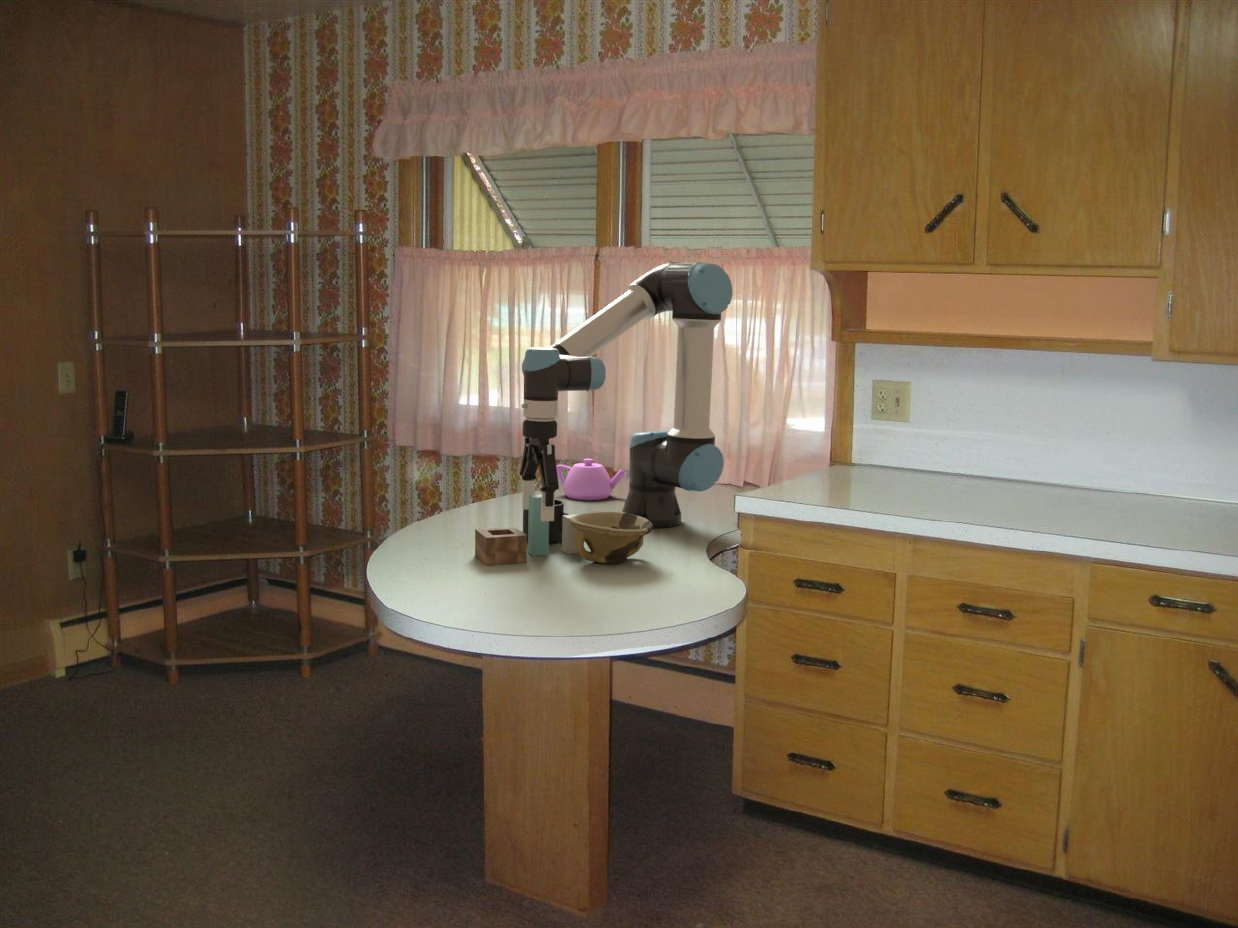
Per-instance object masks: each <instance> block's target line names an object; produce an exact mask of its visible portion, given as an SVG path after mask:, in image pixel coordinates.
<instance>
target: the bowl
mask: <svg viewBox="0 0 1238 928" xmlns="http://www.w3.org/2000/svg"><path fill="white" fill-rule="evenodd" d="M575 515H576V516H573V517H572V518H571V519H570V521H571V525H572V527H574V528H577V530H578V531H579V532H578V536H577V539H576V549H577V552H578V553H577V554H578V555H579V556H580V557H581V558H583V559H585V560H586V561H590V562H595V563H599V564H605V565H619V564H622V563H624V562H625V561H627V559H628V558H630V557H631V556H633V555H635V554H636V553H638V552H639V551H640V549H641V548H642V547H643V546H644V545H643V544H644V536H646V535H648V534H650V533H651V532H652V529H653V524H652V523H651V522H650V521H649V520H647V519H645V518H643V517H640V516H637V515H633V514H629V513H623V512H622V511H595V512H584V513H583V512H582V513H579V514H575ZM585 544H586V545H587V547H588V549H589V550H590V551H588V550H587V549H586V548H585Z"/></svg>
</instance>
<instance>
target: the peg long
mask: <svg viewBox="0 0 1238 928" xmlns="http://www.w3.org/2000/svg"><path fill="white" fill-rule="evenodd" d="M541 497H542V493H541V494H536V493H535V495H529V517H528V542H527V554H530V555H531V556H532V557H538V556H549V551H550V549H549V548H550V547H549V545H550V544H549V521H541Z"/></svg>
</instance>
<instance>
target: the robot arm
mask: <svg viewBox="0 0 1238 928" xmlns="http://www.w3.org/2000/svg"><path fill="white" fill-rule="evenodd" d="M732 300H733V283H732V280H731V279H730V276H729V275H728V273H727V272H726V271H725V269H724V268H723V267H721V266H720V265H718V264H715V263H709V262H704V261H701V262H696V261H695V262H693V261H692V262H690V261H689V262H687V261H686V262H684V261H683V262H679V261H672V262H667V263H664V264H661V265H659V266H657V267H655V268H653V269H652V270H650V271H648V272H646V273H645V274H643V275H642V276H640V277H639V278H638V279H636V280H634V281H633V282H631V283H630V284H629V285H628V286H627V287H626V289H625V293H624V294H622V295H621V296H619V297H618V298H616V299H615V300H614V301H612V302H611V303H609V304H608V305H607V306H605V307H603V309H601V310H600V311H598V312H597V313H596V314H594V315H592V316H591V317H589V318H587V320H586V321H584V322H583V323H582V324H580V325H578V326H577V327H576V328H574V329H573V330H571V331H570V332H569V333H567V334H566V335H565V336H563V337H561V338H560V339H559V340H557V341H556V342H555V343H553V344H552V345H550V346H549V347H529V348H527V349H526V351H525V353H524V359H522V360H523V361H522V364H521V371H522V375H523V403H522V404H521V405H520V408H521V409H522V410H523V412H522V415H523V417H524V418H525V419H523V420H522V436H523V437H524V446H523V447H524V448H523V452H522V457H521V464H520V468H519V476H520V477H521V480H522V495H521V499H522V502H521V509H522V511H523V510H526V509H529V495H536V480H537V476H536V474H537V473H536V472H537V469H538V470H539V476H540V481H541V484H542V487H541V488H540V492H541V494H542V497H541V521H554V499H555V495H556V494H555V493H556V491H558V490H559V489H560V486H559V478H558V476H557V468H556V466H557V462H556V461H557V460H556V446H555V444H550V439H554V438H556V437H557V436H558V421H557V420H556V419H557V418H558V416H559V392H568V391H570V392H572V391H573V392H577V391H578V392H579V391H580V392H581V391H582V392H583V391H586V392H589V391H596V390H599V389H601V388H602V386H603V385H604V384H605V381H606V377H607V376H606V371H607V370H606V366H605V364H604V361H602V359H601V358H599V357H596V356H594V355H595V354H597V353H598V352H600V351H601V350H602V349H604V348H605V347H606V346H607V345H608V346H609V344H610V343H612V342H614V341H615V340H616V339H617V338H619V337H620V336H622V335H623V334H624V333H626V332H627V331H628V330H630V329H631V328H633V327H634V326H635V325H637V324H638V323H639V322H641V321H643V320H651V319H652V318H654V317H656V316H657V315H659V314H661V313H665V312H670V311H671V313H672V314H671V319H672V320H671V321H673V322H674V323H675V324H676V326H677V339H676V340H677V343H676V345H677V346H676V363H675V364H676V365H675V388H674V409H673V426H672V427H671V429H669V430H663V431H662V430H659V431H657V430H655V431H641V432H635V433H633V434H632V436H631V438H630V445H629V483H628V488H629V489H628V493H627V496H626V499H625V503H624V504H623V505H624V506H623V508H622V510H621V512H623V513H629V514H633V515H637V516H640V517H643V518H645V519H647V520H649V521H650V522H651V523H652V524H653V528H655V529H656V528H659V529H661V528H669V527H670V528H671V527H676V526H679V525H681V524H682V511H681V509H680V508H681V507H680V504H679V501H678V498H677V494H676V488H680V489H683V490H684V491H685V490H686V491H688V492H691V491H693V492H704V491H707V490H710V489H711V488H712V487H714V485H715V484H716V483H717V482H718V481H719V480H720V478H721V476H722V473H723V470H724V464H725V463H724V462H725V459H724V454H723V453H722V452H721V449H720V448H719V447H717V446H716V434H715V433H714V432H713V431H712V430H711V428H710V421H711V402H712V401H711V400H712V399H711V398H712V397H711V396H712V381H713V380H712V378H713V377H712V376H713V359H714V356H713V355H714V339H715V328H716V326H717V325H719V323H720V322H722V313H723V312H725V311H726V310H727V309H728V308H729V305H730V304H731V302H732ZM555 500H556V499H555ZM653 528H652V529H653Z"/></svg>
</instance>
